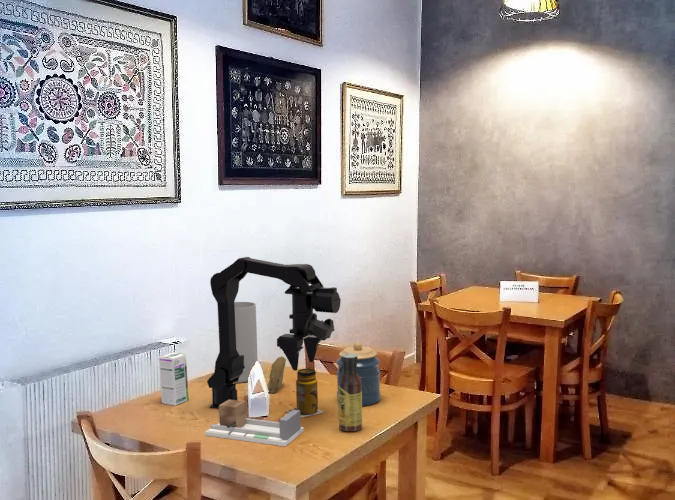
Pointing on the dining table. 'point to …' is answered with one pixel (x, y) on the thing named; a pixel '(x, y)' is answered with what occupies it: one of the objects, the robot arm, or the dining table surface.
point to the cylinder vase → (246, 336)
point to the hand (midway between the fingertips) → (303, 366)
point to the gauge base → (262, 430)
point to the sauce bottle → (350, 395)
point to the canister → (364, 372)
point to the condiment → (306, 393)
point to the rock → (276, 374)
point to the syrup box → (173, 378)
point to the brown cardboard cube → (232, 413)
